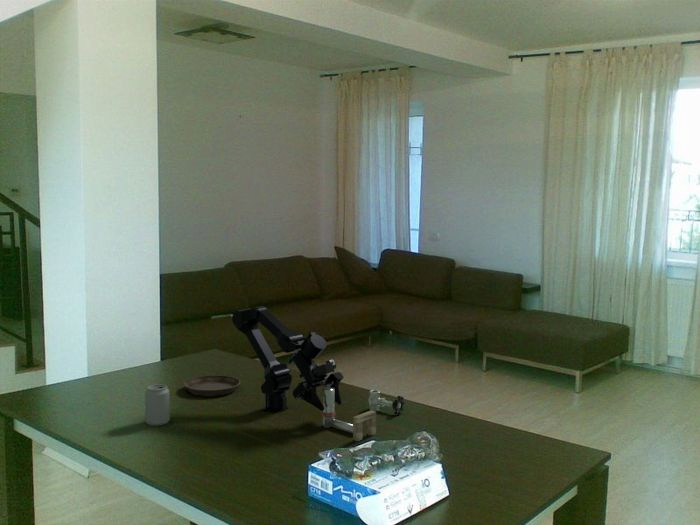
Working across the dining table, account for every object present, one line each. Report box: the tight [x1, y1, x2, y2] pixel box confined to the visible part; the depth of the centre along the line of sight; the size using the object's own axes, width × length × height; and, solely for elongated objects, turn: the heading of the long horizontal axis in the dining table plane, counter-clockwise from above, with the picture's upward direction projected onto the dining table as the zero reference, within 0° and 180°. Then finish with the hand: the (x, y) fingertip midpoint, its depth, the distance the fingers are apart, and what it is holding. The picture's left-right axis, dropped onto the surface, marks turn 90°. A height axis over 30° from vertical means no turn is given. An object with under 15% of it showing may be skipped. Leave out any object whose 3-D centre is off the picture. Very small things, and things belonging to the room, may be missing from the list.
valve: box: [368, 389, 406, 416], centre depth 229 cm, size 7×7×12 cm
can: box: [144, 383, 171, 427], centre depth 216 cm, size 8×8×12 cm
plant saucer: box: [183, 374, 241, 397], centre depth 252 cm, size 21×21×3 cm
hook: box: [321, 387, 353, 434], centre depth 210 cm, size 14×4×12 cm, turn 49°
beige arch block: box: [352, 410, 377, 442], centre depth 204 cm, size 2×8×7 cm, turn 139°
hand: (332, 407), depth 213 cm, fingers open, 8 cm apart
